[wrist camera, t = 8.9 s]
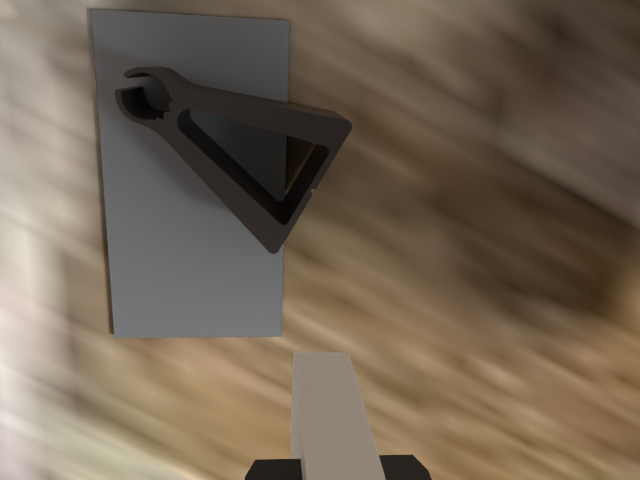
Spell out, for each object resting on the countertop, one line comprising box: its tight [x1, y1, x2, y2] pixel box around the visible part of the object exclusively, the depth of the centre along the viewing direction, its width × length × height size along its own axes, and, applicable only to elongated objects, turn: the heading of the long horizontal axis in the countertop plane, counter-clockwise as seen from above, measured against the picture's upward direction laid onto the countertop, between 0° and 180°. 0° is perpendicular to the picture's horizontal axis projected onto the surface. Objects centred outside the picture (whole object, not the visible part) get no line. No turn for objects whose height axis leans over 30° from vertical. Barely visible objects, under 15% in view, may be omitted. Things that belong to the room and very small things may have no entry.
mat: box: [91, 9, 290, 338], centre depth 37 cm, size 12×22×1 cm, turn 177°
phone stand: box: [115, 67, 352, 254], centre depth 33 cm, size 9×6×12 cm
